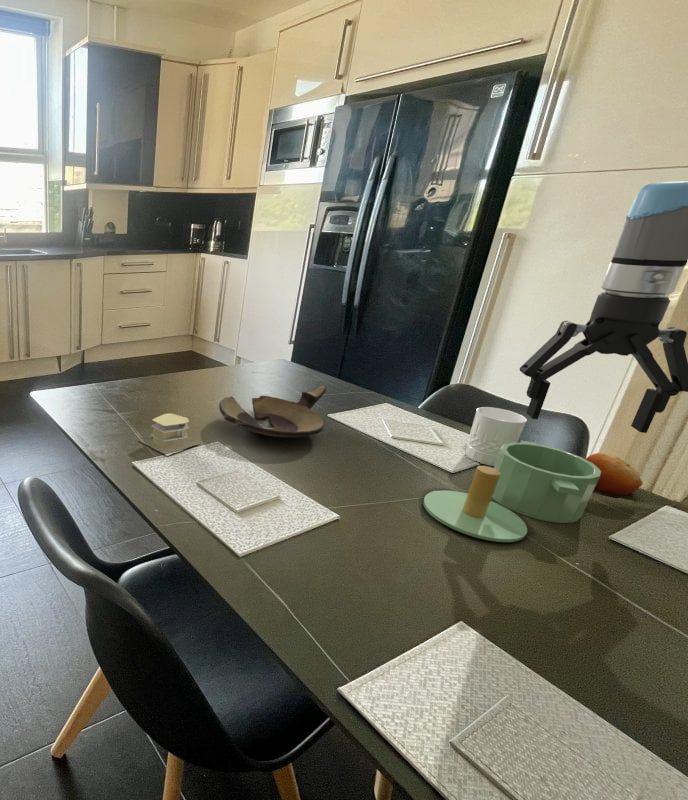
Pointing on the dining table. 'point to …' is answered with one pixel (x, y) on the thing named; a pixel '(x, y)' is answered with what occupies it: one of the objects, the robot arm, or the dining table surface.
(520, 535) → the lid
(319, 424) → the broken brown bowl
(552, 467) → the pot
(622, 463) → the fruit
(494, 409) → the white cup
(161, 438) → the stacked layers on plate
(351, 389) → the dining table surface
